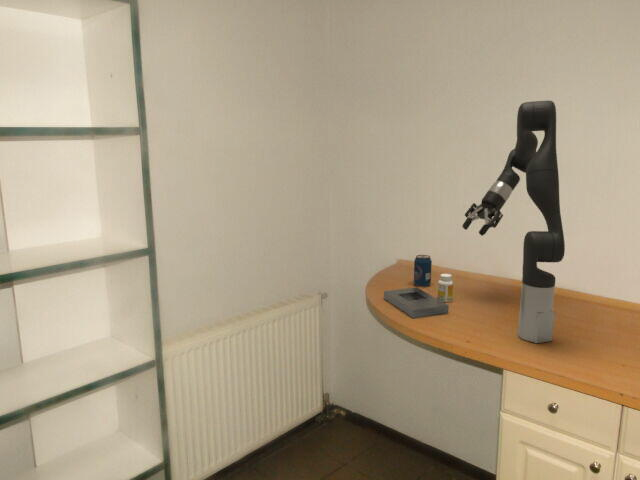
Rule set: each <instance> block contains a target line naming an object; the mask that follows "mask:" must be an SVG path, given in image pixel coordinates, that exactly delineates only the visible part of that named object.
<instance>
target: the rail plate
mask: <svg viewBox="0 0 640 480" xmlns="http://www.w3.org/2000/svg"><path fill="white" fill-rule="evenodd" d="M383 299H384V300H385V301H386V300H387V301H386V302H388V301H389V302H390V303H389V302H388V303H389V304H391V305H392V304H393V305H392V306H394V305H395V306H396V307H395V306H394V307H395V308H397V307H398V308H399V309H398V308H397V309H398V310H399V311H401V310H402V311H401V312H403V311H404V312H405V313H404V312H403V313H404V314H406V315H407V314H408V315H407V316H408V317H409V318H412V319H417V318H418V317H419V318H425V317H433V316H440V315H446V314H447V315H448V314H449V308H450V307H449V306H450V305H449V304H447V302H442V301H440V300H438V297H434V296H433V295H431V294H429V293H428V292H426V291H424V290H423V289H420V288H418V286H415V287H409V288H401V289H391V290H390V289H389V290H384V291H383Z"/></svg>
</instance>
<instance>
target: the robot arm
mask: <svg viewBox="0 0 640 480" xmlns="http://www.w3.org/2000/svg"><path fill="white" fill-rule="evenodd" d="M516 115H517V117H516V142H515V147H514V148H513V149H511V151H509V153H508V156H507V159H506V162H505V165H504V168H503V170H502V171H501V173H500V174H499V176H498V177H497V179H496V181H494V182H493V184H492V185H491V186H490V188H489V189H488V190H487V191H486V194H485V195H484V196H483V197H482V199H481V203H480V204H476V203H474V202H473V203H472V204H471V205H470V207H469V208H468V209H467V211H466V212H465V214H464V216H465V217H466V219H465V221H464V222H463V224H462V229H464V230H466V231H467V230H468V228H469V227H470V226H471V224H472V223H473V222H474V221H477V220H480V219H481V220H484V224H483V225H482V226H481V228H480V229H479V230H478V234H479V235H480V236H482V237H483V236H484V235H486V234H487V232H488V230H489V229H491V228H493V229H495V228H496V227H497V226H498V224H500V221H501V220H502V218H503V217H504V214H503V213H502V211H501V209H502V208H503V206H504V205H505V204H506V202H507V201H508V200H509V198H510V197H511V195H512V194H513V191H514V189H515V188H516V187H517V186H518V184H519V183H520V181H521V177H520V175H519V174H518V173H516V171H515V170H514V169H513V168H515V169H516V170H519V171H520V172H522V173H525V183H526V185H525V187H526V192H527V194H528V196H529V199H530V200H532V202H533V204H534V205H535V206H536V207H537V209H538V210H539V212H540V213H541V214H542V216H543V218H544V220H545V224H546V227H547V231H546V230H545V231H543V230H529V231H528V232H526V234H525V236H524V239H523V245H522V246H523V252H522V254H523V256H522V257H523V259H522V278H521V279H522V281H521V292H520V303H519V315H518V326H517V327H518V328H517V336H518V338H520V339H522V340H524V341H527V342H531V343H535V344H541V343H547V342H552V341H553V336H554V324H555V314H556V311H555V310H554V298H555V289H556V277H555V275H554V274H553V273H551V272H548V271H545V270H544V269H540V268H539V267H538V263H560V262H562V261H563V259H564V257H565V251H566V248H565V247H566V245H565V243H566V242H565V235H564V228H563V222H562V215H561V206H560V205H561V204H560V203H561V202H560V179H559V178H560V177H559V165H558V153H557V108H556V104H555V102H554V101H553V100H534V101H526V102H522V103H521V104H520V105H519V107H518V110H517V114H516ZM542 131H543V132H544V136H543V139H542V142H541V144H540V145H539V148H538V144H539V141H538V140H539V139H538V138H537V135H536V134H535V133H534V132H542ZM537 148H538V149H537Z"/></svg>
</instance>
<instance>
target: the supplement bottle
mask: <svg viewBox="0 0 640 480" xmlns="http://www.w3.org/2000/svg"><path fill="white" fill-rule="evenodd" d="M452 277H453V276H452V274H450V273H441V274H440V279H439V280H438V284H437V299H438V300H440V301H442V302H444V303H450V302H452V301H453V296H454V294H453V292H454V291H453V290H454V282H453V280H452Z"/></svg>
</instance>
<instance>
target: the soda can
mask: <svg viewBox="0 0 640 480" xmlns="http://www.w3.org/2000/svg"><path fill="white" fill-rule="evenodd" d="M413 263H414V264H413V283H414V284H415V286H416V287H424V288H425V287H429V286H430V285H431V281H432V259H431V256H430V255H427V254H418V255H416V256H415V258H414V262H413Z"/></svg>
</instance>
